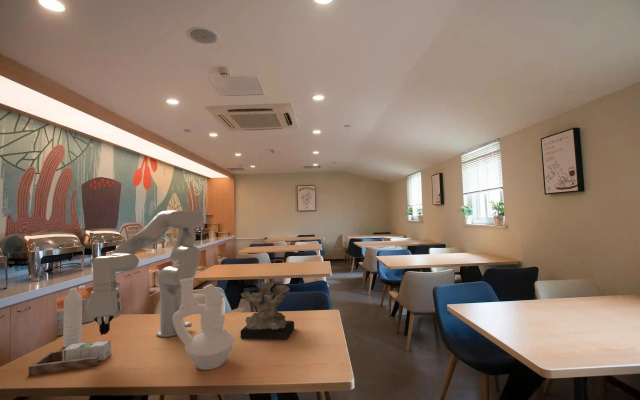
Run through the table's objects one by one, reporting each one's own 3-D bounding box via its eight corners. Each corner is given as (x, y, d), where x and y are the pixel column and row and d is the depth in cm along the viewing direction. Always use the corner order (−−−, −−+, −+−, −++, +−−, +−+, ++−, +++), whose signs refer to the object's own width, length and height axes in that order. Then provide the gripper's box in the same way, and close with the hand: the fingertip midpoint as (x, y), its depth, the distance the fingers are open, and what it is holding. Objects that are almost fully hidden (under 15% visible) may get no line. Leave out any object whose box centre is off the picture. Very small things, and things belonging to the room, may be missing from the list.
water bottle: (71, 348, 131) (72, 290, 132) (58, 347, 132) (60, 289, 133) (90, 340, 139) (90, 285, 141) (78, 339, 140) (79, 285, 142)
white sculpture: (230, 374, 104) (228, 280, 106) (164, 379, 102) (164, 284, 104) (238, 351, 122) (237, 271, 124) (183, 355, 119) (182, 274, 121)
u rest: (110, 352, 125) (110, 344, 125) (96, 366, 113) (96, 357, 113) (49, 359, 120) (50, 352, 120) (28, 375, 108) (28, 366, 108)
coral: (233, 338, 136) (232, 290, 137) (251, 322, 155) (251, 280, 157) (286, 341, 131) (284, 291, 132) (298, 324, 151) (297, 281, 152)
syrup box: (111, 354, 123) (70, 359, 120) (111, 339, 123) (71, 343, 121) (103, 360, 117) (61, 365, 115) (103, 345, 118) (61, 349, 115)
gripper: (128, 283, 126) (129, 327, 125) (87, 286, 123) (87, 332, 122) (121, 287, 119) (122, 334, 118) (78, 291, 115) (77, 339, 114)
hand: (104, 333), depth 120 cm, fingers closed
